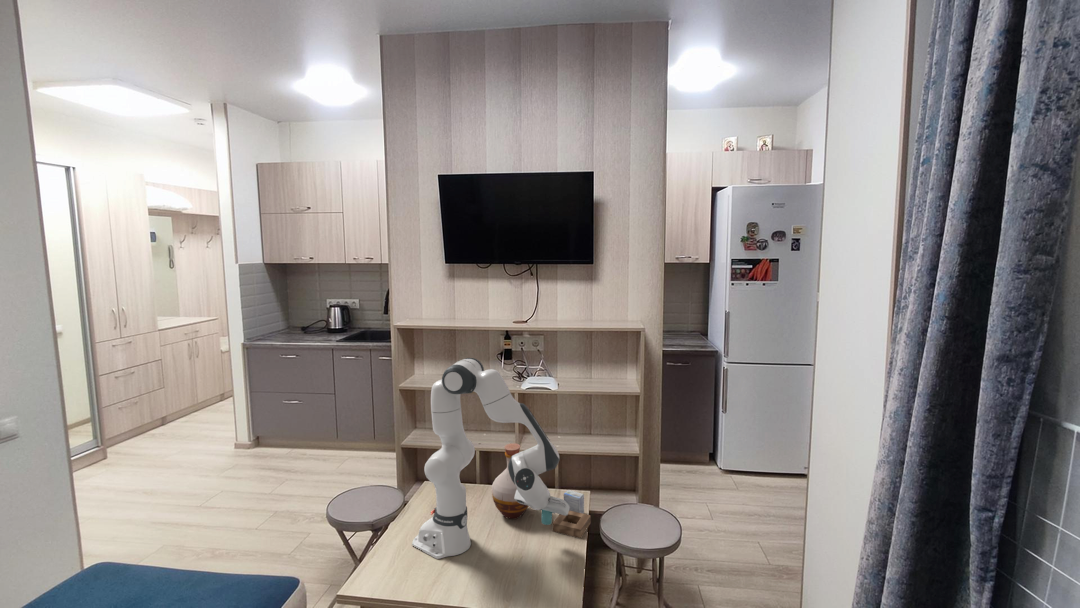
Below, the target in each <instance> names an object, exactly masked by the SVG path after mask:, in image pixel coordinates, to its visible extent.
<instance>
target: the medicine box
mask: <svg viewBox="0 0 1080 608" xmlns="http://www.w3.org/2000/svg"><path fill="white" fill-rule="evenodd" d="M563 500H564V501H566V502H567V504H568V505H569V506H570V508H569V511H574V512H578V513H583V514H585V494H584V493H581V492H578V491H576V490H575V491H574V490H570V489H568V490H566V491H565V492H564V493H563Z"/></svg>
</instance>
